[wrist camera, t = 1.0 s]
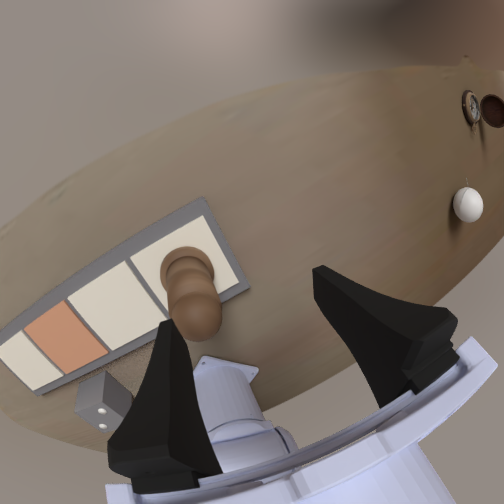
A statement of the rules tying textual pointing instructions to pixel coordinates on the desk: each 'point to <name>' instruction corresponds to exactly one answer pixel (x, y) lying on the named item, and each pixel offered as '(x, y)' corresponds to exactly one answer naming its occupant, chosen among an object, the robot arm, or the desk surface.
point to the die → (102, 402)
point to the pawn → (191, 293)
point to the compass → (483, 109)
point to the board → (112, 302)
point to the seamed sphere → (468, 204)
